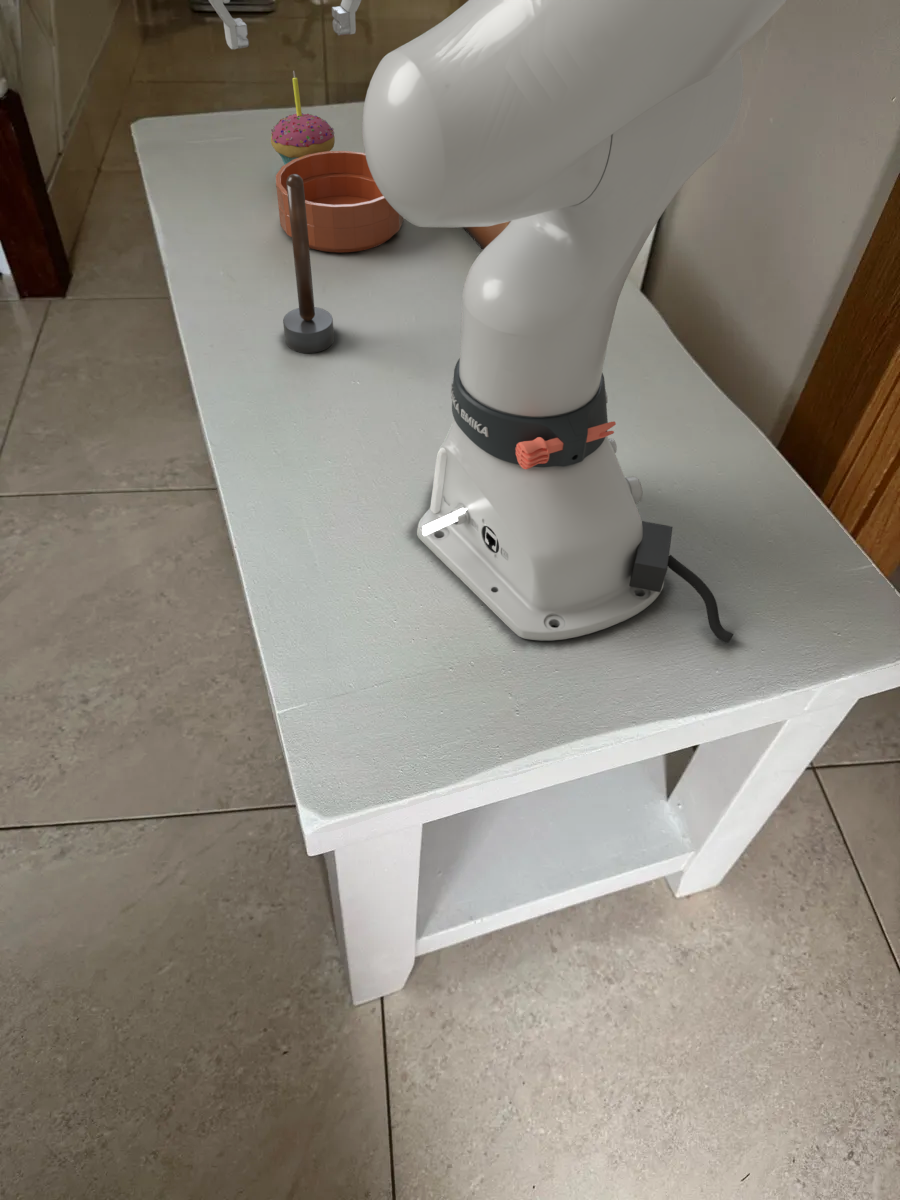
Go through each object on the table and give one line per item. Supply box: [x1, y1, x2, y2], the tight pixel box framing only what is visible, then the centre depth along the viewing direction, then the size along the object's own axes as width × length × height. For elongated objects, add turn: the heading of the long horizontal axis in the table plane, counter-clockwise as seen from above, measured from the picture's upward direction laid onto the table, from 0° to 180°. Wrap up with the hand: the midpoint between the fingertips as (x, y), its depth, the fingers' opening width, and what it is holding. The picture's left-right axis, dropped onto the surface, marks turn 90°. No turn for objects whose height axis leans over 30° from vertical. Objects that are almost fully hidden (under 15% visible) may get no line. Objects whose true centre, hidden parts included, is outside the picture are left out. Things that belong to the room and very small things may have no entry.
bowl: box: [275, 150, 404, 253], centre depth 115 cm, size 15×15×6 cm
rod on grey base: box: [282, 174, 335, 354], centre depth 93 cm, size 5×5×18 cm
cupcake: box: [270, 70, 336, 166], centre depth 122 cm, size 9×8×12 cm
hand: (292, 39), depth 79 cm, fingers open, 8 cm apart
